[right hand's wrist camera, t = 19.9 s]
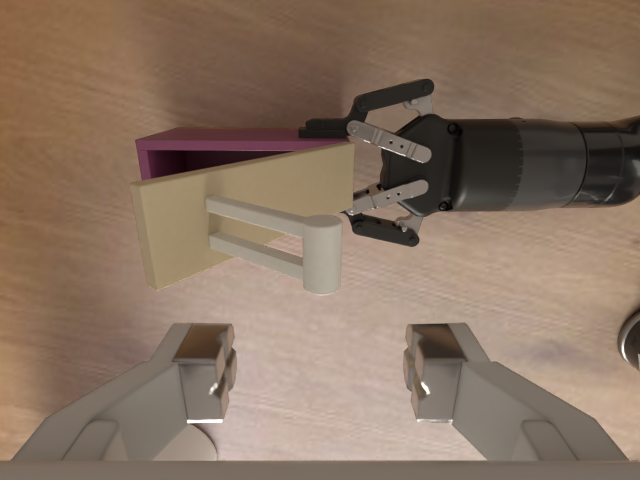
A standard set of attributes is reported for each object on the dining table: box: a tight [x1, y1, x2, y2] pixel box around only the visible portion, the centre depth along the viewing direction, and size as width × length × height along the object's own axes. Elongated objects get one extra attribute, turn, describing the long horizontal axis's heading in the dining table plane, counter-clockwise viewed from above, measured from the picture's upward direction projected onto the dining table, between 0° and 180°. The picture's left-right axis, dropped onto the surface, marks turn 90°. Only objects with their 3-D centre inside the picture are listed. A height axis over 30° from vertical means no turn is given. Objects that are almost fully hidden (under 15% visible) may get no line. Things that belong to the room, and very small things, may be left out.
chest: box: [135, 128, 350, 180], centre depth 34 cm, size 16×5×9 cm, turn 90°
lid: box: [130, 142, 355, 295], centre depth 21 cm, size 17×5×8 cm
